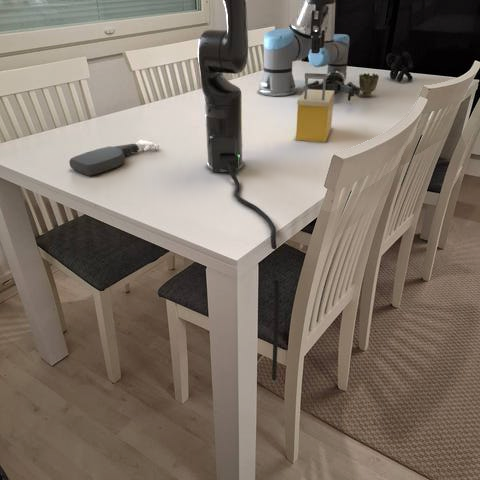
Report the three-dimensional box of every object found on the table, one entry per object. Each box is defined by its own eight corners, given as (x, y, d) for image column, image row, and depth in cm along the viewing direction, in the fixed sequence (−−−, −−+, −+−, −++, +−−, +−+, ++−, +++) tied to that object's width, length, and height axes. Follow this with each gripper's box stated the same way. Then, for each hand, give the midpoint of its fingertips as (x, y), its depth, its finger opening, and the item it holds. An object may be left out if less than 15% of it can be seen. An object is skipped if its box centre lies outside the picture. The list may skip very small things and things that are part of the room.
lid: (328, 106, 128) (331, 76, 123) (297, 104, 130) (298, 74, 126) (334, 94, 139) (336, 66, 134) (305, 92, 141) (307, 64, 137)
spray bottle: (67, 168, 120) (139, 144, 136) (91, 178, 114) (163, 151, 130) (65, 157, 118) (137, 134, 134) (89, 167, 112) (162, 142, 128)
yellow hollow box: (325, 142, 134) (328, 106, 128) (295, 139, 136) (297, 104, 131) (330, 128, 145) (334, 94, 139) (303, 126, 147) (305, 93, 141)
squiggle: (400, 92, 202) (376, 71, 205) (417, 76, 202) (392, 56, 205) (405, 81, 191) (380, 59, 194) (423, 64, 191) (397, 42, 194)
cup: (354, 97, 177) (357, 76, 172) (359, 92, 182) (362, 72, 178) (373, 99, 174) (376, 77, 169) (378, 94, 179) (381, 73, 175)
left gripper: (312, -19, 121) (308, 46, 130) (303, -16, 110) (299, 54, 118) (340, -19, 119) (334, 46, 128) (333, -16, 108) (327, 55, 116)
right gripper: (366, 93, 173) (364, 108, 156) (301, 90, 179) (293, 104, 161) (368, 73, 169) (367, 86, 152) (303, 70, 175) (294, 83, 157)
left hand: (317, 50), depth 123 cm, fingers open, 8 cm apart
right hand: (329, 95), depth 156 cm, fingers open, 13 cm apart
